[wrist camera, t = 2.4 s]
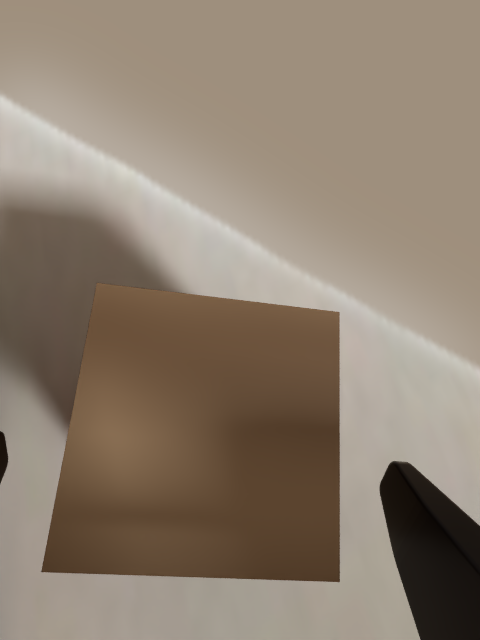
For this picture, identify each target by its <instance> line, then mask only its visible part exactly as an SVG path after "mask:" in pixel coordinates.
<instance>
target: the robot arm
mask: <svg viewBox="0 0 480 640" xmlns="http://www.w3.org/2000/svg"><path fill="white" fill-rule="evenodd" d="M7 464H8V453H7V447H6V441H5V436H4V433H3V432H1V431H0V483H1V481H2V478H3V476H4V473H5V471H6V468H7ZM380 496H381V500H382V505H383V510H384V514H385V519H386V523H387V528H388V533H389V537H390V542H391V546H392V550H393V554H394V558H395V561H396V565H397V568H398V571H399V574H400V577H401V580H402V584H403V587H404V590H405V593H406V596H407V599H408V602H409V605H410V608H411V611H412V615H413V618H414V621H415V624H416V627H417V630H418V633H419V636H420V639H421V640H480V526H479V525H478V524H477V523H476V522H475V521H474V520H473V519H471V518H470V517H469V516H468V515H467V514H466V513H465V512H464V511H463V510H461V509H460V508H459V507H458V506H457V505H456V504H455V503H454V502H453V501H451V500H450V499H449V498H448V497H447V496H446V495H445V494H444V493H442V492H441V491H440V490H439V489H438V488H437V487H436V486H435V485H434V484H432V483H431V482H430V481H429V480H428V479H427V478H426V477H425V476H424V475H422V474H421V473H420V472H419V471H418V470H417V469H416V468H415V467H413V466H412V465H411V464H410V463H408V462H400V461H392V462H391V463H390V464H389V466H388V468H387V470H386V472H385V474H384V476H383V479H382V481H381V483H380Z"/></svg>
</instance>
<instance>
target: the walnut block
mask: <svg viewBox="0 0 480 640" xmlns="http://www.w3.org/2000/svg"><path fill="white" fill-rule="evenodd" d="M42 572H56V573H86V574H116V575H146V576H176V577H206V578H236V579H266V580H296V581H326V582H340V433H339V312H333V311H325V310H317V309H309V308H300V307H292V306H284V305H276V304H267V303H259V302H251V301H243V300H234V299H226V298H218V297H209V296H201V295H193V294H185V293H176V292H168V291H160V290H152V289H143V288H135V287H127V286H119V285H110V284H102V283H97V285H96V290H95V295H94V300H93V306H92V311H91V316H90V321H89V326H88V332H87V337H86V342H85V347H84V353H83V358H82V363H81V368H80V373H79V379H78V384H77V389H76V394H75V400H74V405H73V410H72V415H71V420H70V426H69V431H68V436H67V441H66V446H65V452H64V457H63V462H62V467H61V473H60V478H59V483H58V488H57V493H56V499H55V504H54V509H53V514H52V520H51V525H50V530H49V535H48V540H47V546H46V551H45V556H44V561H43V566H42Z"/></svg>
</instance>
